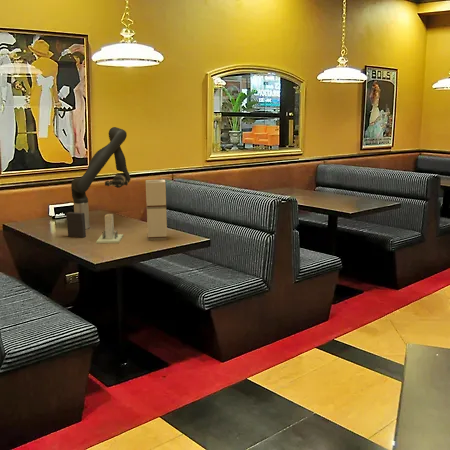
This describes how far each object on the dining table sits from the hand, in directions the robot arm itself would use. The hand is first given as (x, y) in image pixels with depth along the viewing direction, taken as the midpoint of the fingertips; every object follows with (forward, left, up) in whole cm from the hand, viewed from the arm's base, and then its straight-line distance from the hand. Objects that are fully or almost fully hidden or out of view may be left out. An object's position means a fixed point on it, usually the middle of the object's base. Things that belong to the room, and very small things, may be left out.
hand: (114, 184), depth 349 cm
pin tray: (0, -25, -30) cm, 39 cm away
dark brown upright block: (-22, -16, -30) cm, 41 cm away
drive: (0, -25, -29) cm, 38 cm away
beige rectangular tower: (+28, -22, -30) cm, 47 cm away
